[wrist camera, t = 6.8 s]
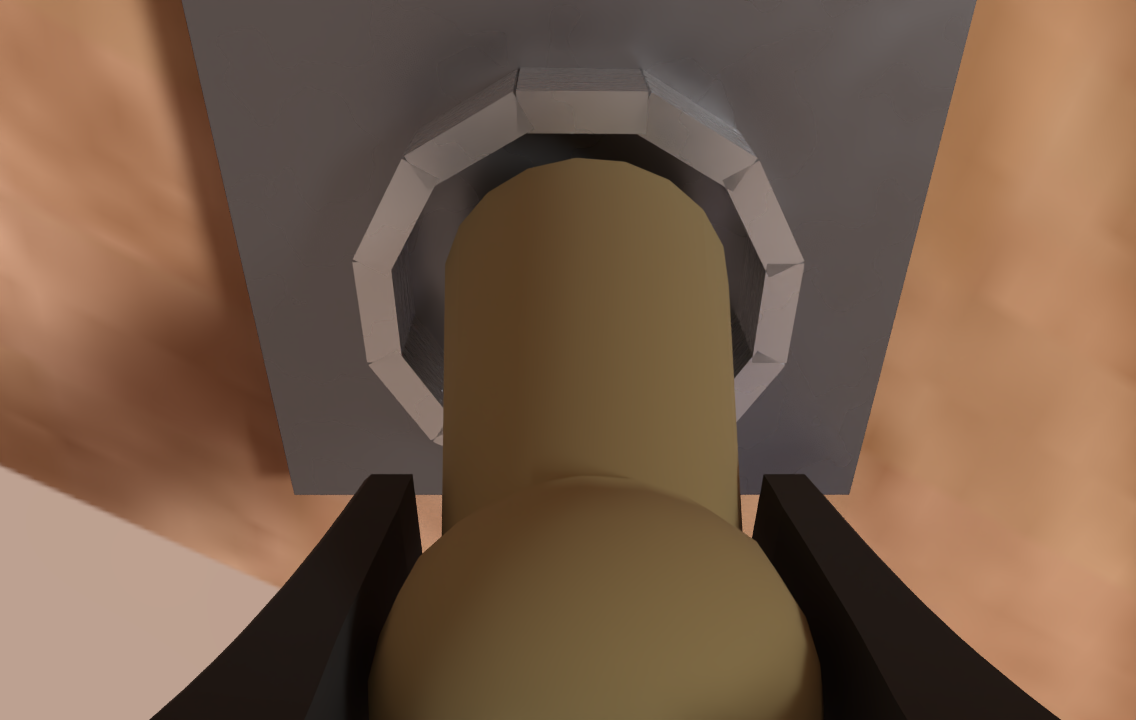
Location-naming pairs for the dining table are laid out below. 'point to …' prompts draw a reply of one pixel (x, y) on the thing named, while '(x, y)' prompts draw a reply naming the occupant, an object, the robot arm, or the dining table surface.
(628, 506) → the cork
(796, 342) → the plate
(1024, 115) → the dining table surface
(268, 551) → the dining table surface
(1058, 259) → the dining table surface
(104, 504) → the dining table surface
